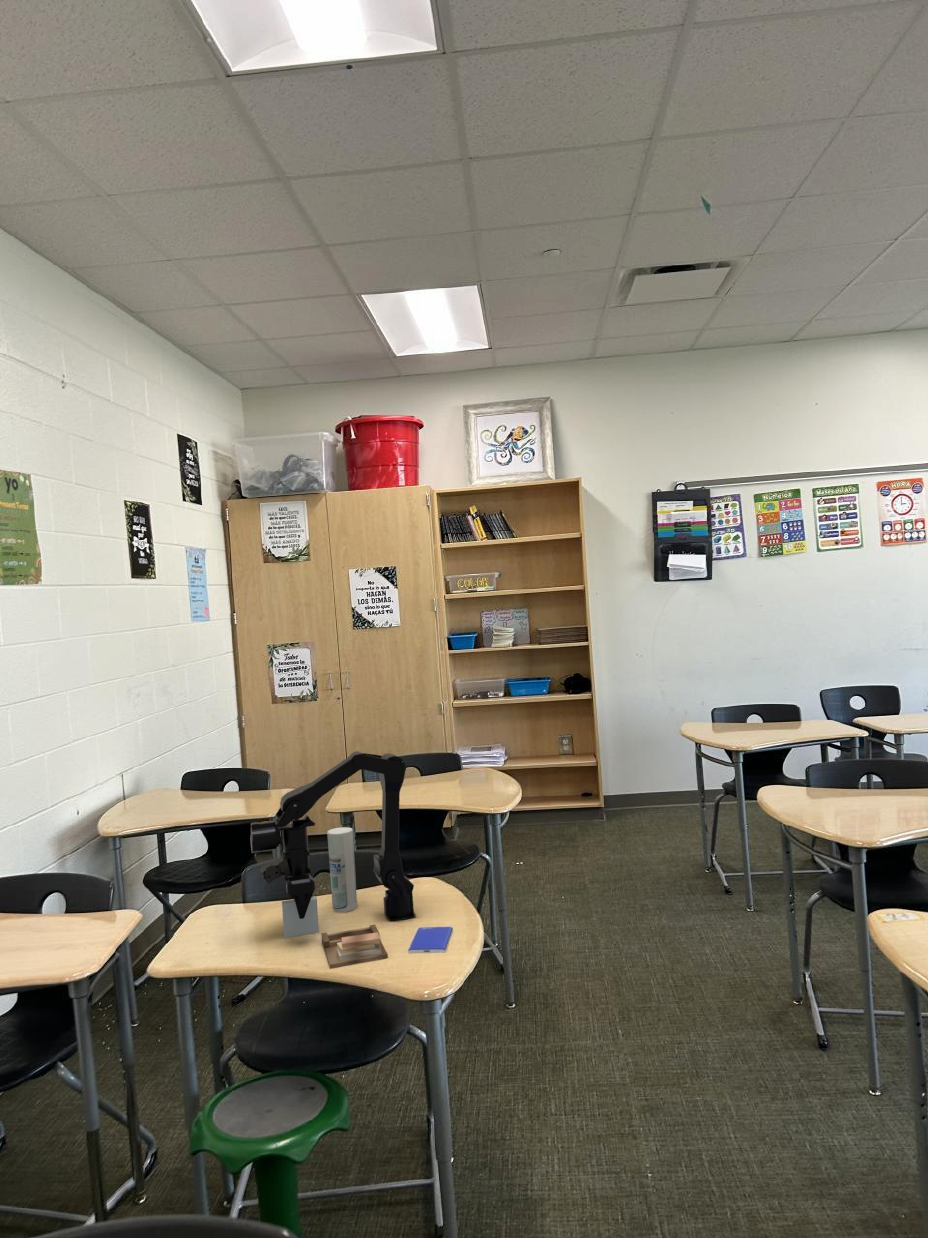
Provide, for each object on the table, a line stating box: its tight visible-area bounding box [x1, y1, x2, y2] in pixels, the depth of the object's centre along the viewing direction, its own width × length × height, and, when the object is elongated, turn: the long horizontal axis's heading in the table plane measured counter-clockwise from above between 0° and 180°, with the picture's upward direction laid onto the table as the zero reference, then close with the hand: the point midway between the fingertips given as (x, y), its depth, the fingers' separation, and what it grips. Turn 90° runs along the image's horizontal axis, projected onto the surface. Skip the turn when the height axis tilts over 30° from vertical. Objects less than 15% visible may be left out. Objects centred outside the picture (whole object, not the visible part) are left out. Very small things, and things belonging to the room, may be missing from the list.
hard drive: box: [407, 926, 454, 954], centre depth 182 cm, size 2×8×12 cm
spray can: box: [326, 826, 358, 914], centre depth 208 cm, size 6×6×20 cm
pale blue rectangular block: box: [281, 895, 320, 939], centre depth 192 cm, size 8×2×8 cm, turn 106°
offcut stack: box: [337, 932, 382, 961], centre depth 176 cm, size 9×5×3 cm, turn 106°
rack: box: [321, 924, 389, 969], centre depth 180 cm, size 12×15×2 cm
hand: (300, 912), depth 192 cm, fingers open, 9 cm apart
